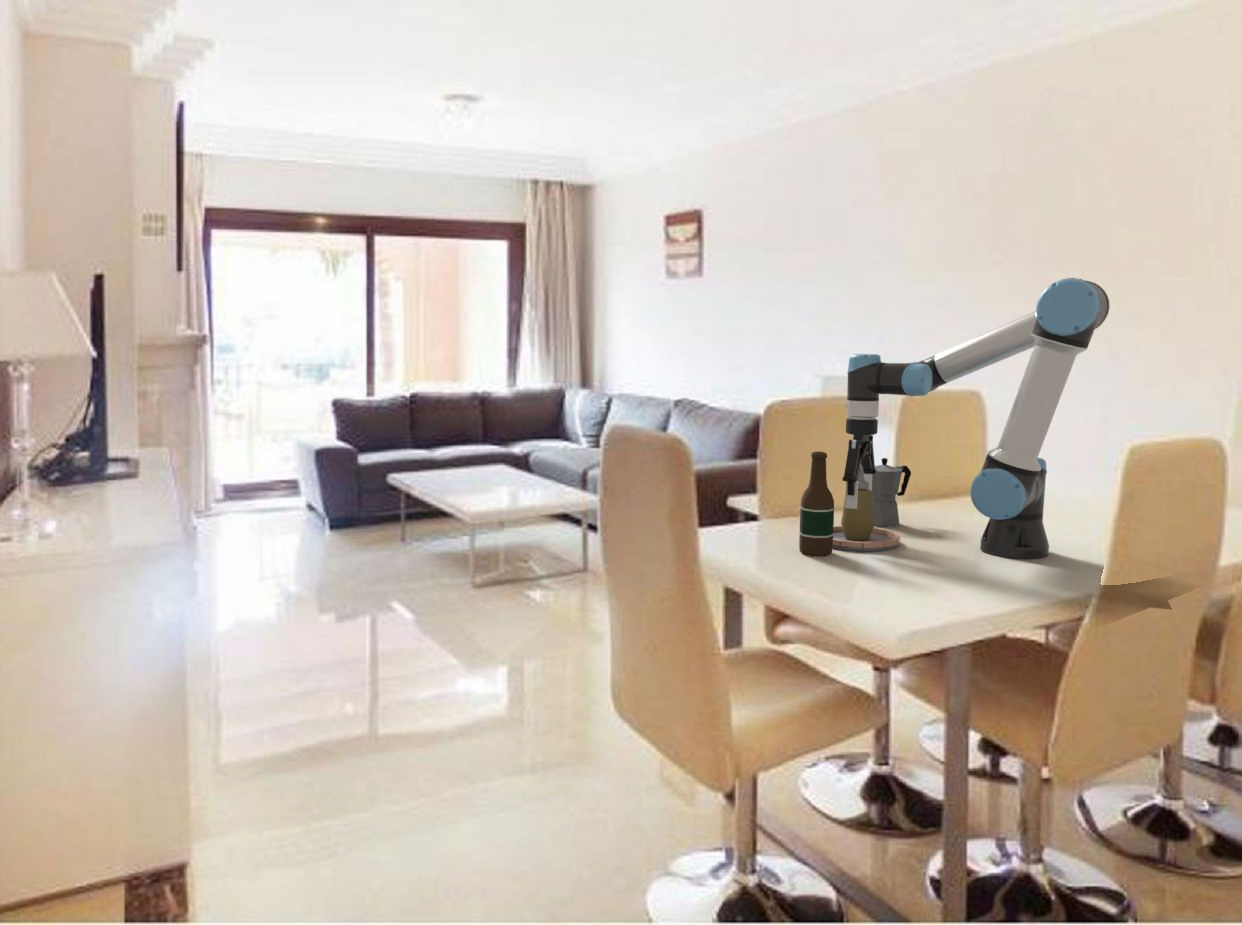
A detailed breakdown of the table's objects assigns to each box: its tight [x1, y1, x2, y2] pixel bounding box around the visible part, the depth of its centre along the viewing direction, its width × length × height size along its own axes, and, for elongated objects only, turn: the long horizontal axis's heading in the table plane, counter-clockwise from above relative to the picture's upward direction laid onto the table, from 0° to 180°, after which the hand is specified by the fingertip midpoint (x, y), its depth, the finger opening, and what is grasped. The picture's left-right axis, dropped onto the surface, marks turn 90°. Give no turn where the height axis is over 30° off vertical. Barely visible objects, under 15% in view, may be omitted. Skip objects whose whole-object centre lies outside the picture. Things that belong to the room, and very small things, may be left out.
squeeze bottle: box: [840, 465, 875, 540], centre depth 238 cm, size 8×8×18 cm
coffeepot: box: [872, 457, 912, 528], centre depth 262 cm, size 15×9×18 cm, turn 113°
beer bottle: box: [798, 451, 835, 557], centre depth 227 cm, size 8×8×24 cm
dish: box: [832, 525, 901, 553], centre depth 240 cm, size 20×20×2 cm
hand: (858, 503), depth 238 cm, fingers open, 13 cm apart
